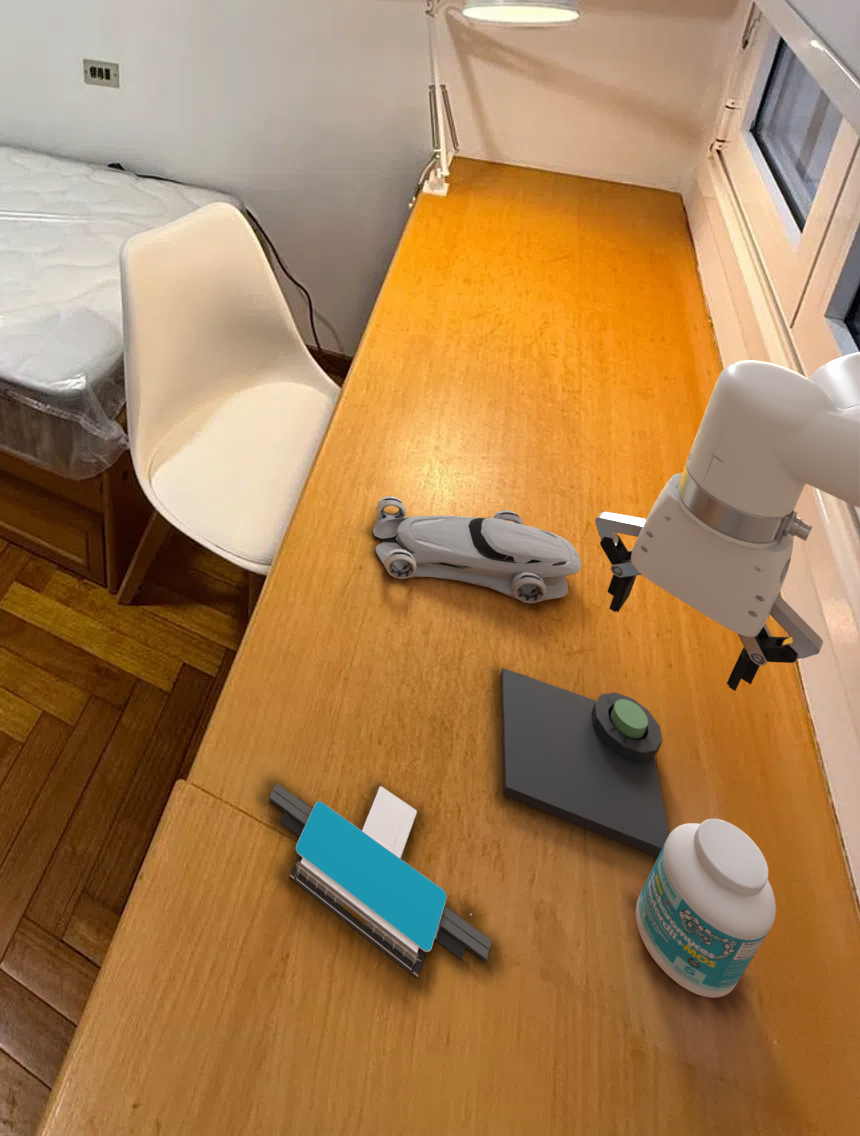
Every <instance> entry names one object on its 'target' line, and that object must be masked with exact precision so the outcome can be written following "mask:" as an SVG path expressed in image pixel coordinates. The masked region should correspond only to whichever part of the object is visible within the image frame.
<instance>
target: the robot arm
mask: <svg viewBox="0 0 860 1136" xmlns="http://www.w3.org/2000/svg"><path fill="white" fill-rule="evenodd" d="M806 485H808V486H810V487H812V488H815V489H816V490H819V491H821V492H823V493H826V494H828V495H830V496H832V497H834V498H836V499H838V500H840V501H843V502H845V503H847V504H848V505H851V506H853V507H856V508H858V509H860V351H858V352H852V353H849V354H846V355H843V356H840V357H838V358H834V359H832V360H830V361H828V362H827V363H825V364H823V365H821V366H819V367H818V368H817V369H816V370H814V372H812V373H811V375H810V376H809V377H806V376H805V375H803V374H801V373H799V372H797V371H795V370H792V369H790V368H788V367H785V366H782V365H779V364H775V363H772V362H768V361H763V360H752V359H751V360H750V359H749V360H739V361H735V362H733V363H730V364H729V365H727V366H726V367H725V368H723V369H722V370H721V372H720V373H719V376H718V377H717V380H716V382H715V383H714V387H713V389H712V392H711V395H710V397H709V399H708V402H707V406H706V408H705V410H704V414H703V416H702V419H701V421H700V424H699V427H698V429H697V431H696V435H695V437H694V440H693V442H692V446H691V448H690V451H689V453H688V456H687V458H686V462H685V464H684V467H683V470H682V472H678V473H675V474H673V475H672V476H671V477H670V478H669V479H668V481H667V482H666V483H665V485H664V486H663V487H662V489H661V491H660V492H659V494H658V496H657V498H656V499H655V501H654V502H653V505H652V507H651V508H650V511H649V513H648V515H647V517H646V519H645V518H641V517H636V516H631V515H625V514H622V513H621V514H620V513H615V512H610V511H605V510H603V511H600V512H599V513H598V515H597V516H596V517H595V519H594V522H595V526H596V530H597V533H598V537H599V538H600V541H599V544H600V547H601V549H602V551H603V552H604V554H605V556H606V557H607V559H608V561H609V562H610V564H611V566H610V571H611V573H612V577H611V580H610V583H609V585H608V588H607V593H608V594H610V595H611V596H612V600H611V602H610V604H609V608H608V609H609V610H611V611H612V612H613V613H619V612H620V610H621V609H622V607H623V606H624V605H625V603H626V601H627V600H628V599H629V597H630V595H631V593H632V589H633V587H634V584H635V581H636V579H637V576H643V578H646V579H647V580H648V581H650V582H651V583H653V584H654V585H656V586H658V587H659V588H661V590H664V591H665V592H667V593H668V594H670V595H672V596H674V597H675V598H676V599H678V600H680V601H682V602H683V603H685V604H687V605H688V606H690V607H691V608H693V609H694V610H696V611H697V612H699V613H701V614H702V615H704V616H706V617H707V618H709V619H711V620H713V621H714V622H716V623H717V624H719V625H721V626H722V627H724V628H726V629H728V630H729V631H732V632H733V633H735V634H737V636H738V638H739V640H740V642H741V644H742V645H743V647H742V649H741V651H740V654H739V655H738V658H737V659H736V662H735V664H734V667H733V669H732V671H731V672H730V675H729V677H728V679H727V682H726V685H728V688H730V689H731V690H732V691H734V692H736V690H737V688H738V687H739V684H740V682H741V680H743V681H744V682H746V683H747V684H749V685H752V683H753V681H754V679H755V676H756V674H757V673H758V671H759V669H760V666H761V667H763V666H766V665H767V663H782V664H783V663H786V664H793V663H795V662H796V661H797V660H799V659H805V658H806V659H807V658H809V657H812V656H816V655H818V654H820V652H821V649H822V647H823V645H824V640H823V639H822V637H820V636H819V634H818V633H817V632H816V631H815V630H814V629H813V628H812V627H811V626H810V625H809V624H808V623H807V622H806V621H805V619H803V618H802V617H801V615H799V614H798V613H797V611H795V610H794V609H793V608H792V607H791V606H790V605H789V604H788V603H787V602H786V600H784V598H782V596H781V595H780V594H781V591H782V589H783V586H784V584H785V580H786V578H787V575H788V571H789V568H790V564H791V560H792V555H793V548H794V537H796V538H799V539H800V540H803V541H805V542H806V541H807V539H808V538H809V536H810V533H811V532H812V529H813V525H811V524H809V523H807V522H805V521H804V520H803V518H801V517H799V516H798V512H797V511H796V510H795V508H796V506H797V504H798V502H799V499H800V497H801V494H802V493H803V490H804V488H805V486H806ZM619 534H621V535H627V536H631V537H636V541H635V543H634V544H633V545H634V546H633V548H632V547H631V548H627V547H626V545H625V543H624V542H623V540H622V539H621V537H620V535H619ZM769 617H772V619H773V620H774V621H775V622H777V624H778V625H779V626H780V627H781V628H782V629H783V630H784V631H785V632H786V633H787V634H788V635H789V636H773V634H772V633H771V631H770V629H769V627H768V625H767V624H766V623H767V621H768V619H769Z"/></svg>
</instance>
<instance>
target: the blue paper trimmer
mask: <svg viewBox="0 0 860 1136" xmlns="http://www.w3.org/2000/svg"><path fill="white" fill-rule="evenodd" d="M268 801H269V802H271V803H272V804H273V805H274V806H276V807H277V808H278V809H280V810H281V811H283V814H282V816H281V818H280V820H279V824H281V825H283V826H284V827H285V828H287V829H288V830H289V831H290V832H292V833H293V834H295V836H297V837H298V840H297V842H296V845H295V851H296V854H297V857H296V861H295V862H294V864H293V866H292V867H291V870H290V872H289V875H288V878H289V879H290V880H292V881H293V882H294V883H295V884H296V885H298V886H299V887H300V888H302V889H303V890H304V891H306V893H308V894H309V895H311V896H312V897H314V899H316V900H317V901H318V902H319V903H321V905H323V906H324V907H326V908H327V909H328V910H330V911H331V912H332V913H333V914H334V915H336V916H337V917H338V918H339V919H341V920H342V921H344V922H345V923H346V924H347V925H348V926H350V927H351V928H352V929H353V930H354V931H356V932H357V933H359V934H360V935H361V936H362V937H364V938H365V939H366V940H367V941H369V942H370V943H371V944H372V945H373V946H375V947H376V948H377V949H379V950H380V951H381V952H383V953H384V954H385V955H386V956H388V957H389V958H390V959H391V960H393V961H394V962H395V963H396V964H397V965H399V966H400V967H401V968H403V969H404V970H405V971H406V972H408V973H409V974H410V975H411V976H413V977H414V978H415V979H417V980H419V976H420V973H421V969H422V966H423V963H424V960H425V956H426V954H427V953H429V952H431V951H432V948H433V945H434V941H435V942H437V943H438V944H439V945H441V946H442V947H443V948H444V949H446V950H447V951H449V952H450V953H451V954H452V955H454V956H455V957H457V958H458V959H459V960H461V961H463V958H464V955H465V951H466V949H467V950H468V951H469V952H471V953H472V954H474V955H475V956H476V957H478V958H479V959H481V961H483V962H485V963H487V960H488V957H489V954H490V949H491V946H492V941H493V940H492V939H490V938H489V937H488V936H486V934H484V933H482V932H481V931H479V930H478V929H477V928H475V927H474V926H473V925H471V924H470V923H469V922H467V921H466V919H464V918H463V917H461V916H460V915H459V914H458V913H456V912H455V911H453V910H452V909H451V908H449V907H448V906H447V905H446V903H447V893H446V891H445V890H444V889H443V888H442V887H440V885H437V884H436V883H435V882H434V881H433V880H431V879H429V878H428V877H427V876H425V875H424V874H423V873H421V872H420V871H418V870H417V869H415V868H414V867H413V866H412V865H410V864H409V863H407V862H406V861H405V860H403V859H402V856H403V852H404V850H405V847H406V845H407V842H408V838H409V837H410V834H411V830H412V828H413V825H414V822H415V819H416V817H417V814H418V810H417V809H415V807H412V806H411V805H409V804H408V803H407V802H405V801H404V800H402V799H401V798H399V797H398V796H396V795H395V794H393V793H392V792H391V791H389V790H388V789H386V788H385V787H383V786H381V785H380V786H379V787H378V790H377V793H376V795H375V798H374V799H373V802H372V805H371V808H370V810H369V811H368V812H369V813H368V815H367V817H366V819H365V822H364V825H363V827H362V829H360V828H359V827H358V826H356V825H355V824H353V822H350V821H349V820H348V819H346V818H345V817H344V816H342V815H341V814H339V813H338V812H337V811H336V810H334V809H332V808H331V807H330V806H328V805H327V804H326V803H324V802H322V801H319V800H318V801H316V802H315V804H314V805H313V808H312V807H311V806H310V805H308V804H307V803H306V802H304V801H303V800H302V799H300V798H299V797H296V796H295V795H294V794H292V792H289V790H287V789H286V788H284V787H282V786H281V785H280V784H279V783H277V782H276V783H275V784H274V787H273V789H272V790H271V792H270V795H269V800H268ZM469 915H470V916H473V915H472V913H470V914H469Z"/></svg>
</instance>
